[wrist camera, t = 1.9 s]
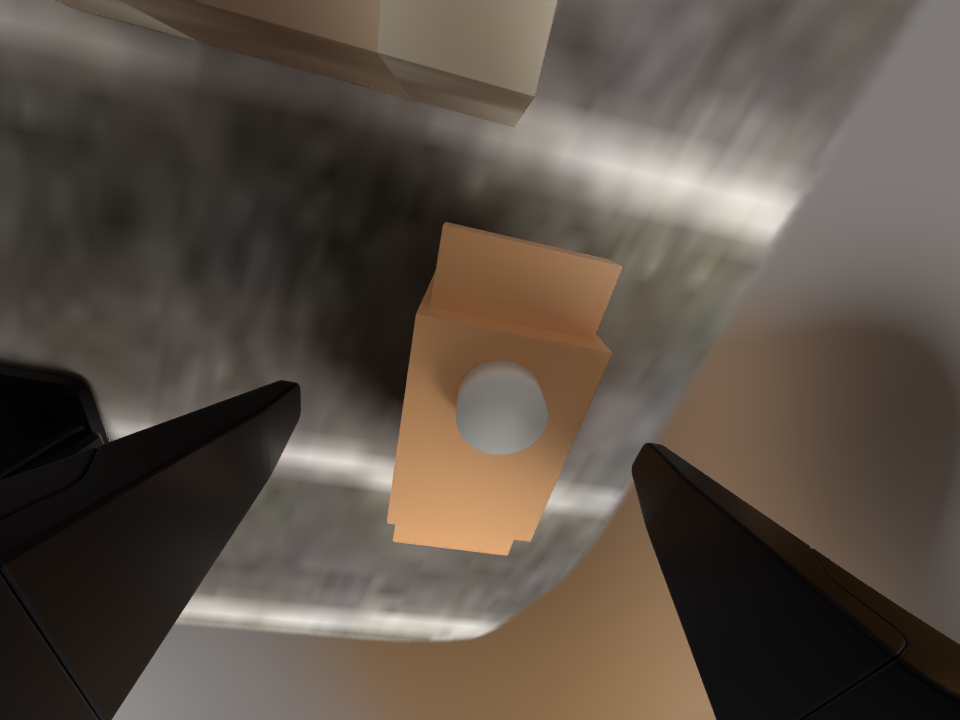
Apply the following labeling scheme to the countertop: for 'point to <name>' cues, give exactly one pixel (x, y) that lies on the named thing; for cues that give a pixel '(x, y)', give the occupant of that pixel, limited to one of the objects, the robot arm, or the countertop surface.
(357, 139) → the countertop surface
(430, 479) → the block
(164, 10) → the beige notched square frame
